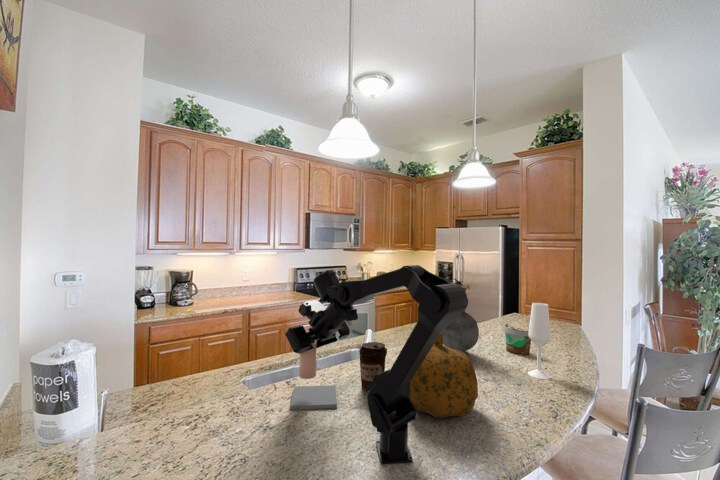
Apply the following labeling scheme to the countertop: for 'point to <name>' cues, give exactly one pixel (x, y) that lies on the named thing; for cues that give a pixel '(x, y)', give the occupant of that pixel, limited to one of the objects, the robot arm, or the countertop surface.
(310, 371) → the terracotta canister
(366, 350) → the coffee cup
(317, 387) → the mat
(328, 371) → the countertop surface
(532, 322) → the champagne flute
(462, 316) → the pitcher
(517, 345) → the food container
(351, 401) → the countertop surface
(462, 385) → the decorative pumpkin
